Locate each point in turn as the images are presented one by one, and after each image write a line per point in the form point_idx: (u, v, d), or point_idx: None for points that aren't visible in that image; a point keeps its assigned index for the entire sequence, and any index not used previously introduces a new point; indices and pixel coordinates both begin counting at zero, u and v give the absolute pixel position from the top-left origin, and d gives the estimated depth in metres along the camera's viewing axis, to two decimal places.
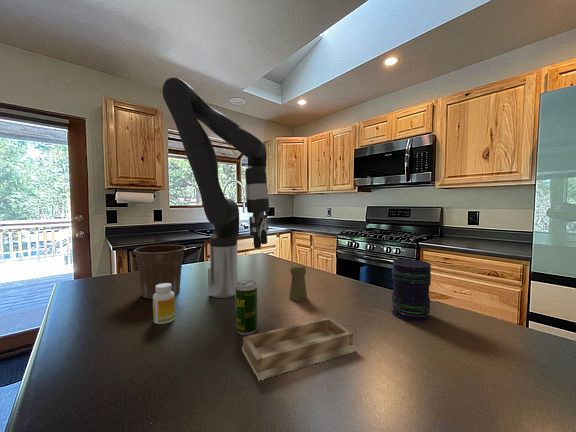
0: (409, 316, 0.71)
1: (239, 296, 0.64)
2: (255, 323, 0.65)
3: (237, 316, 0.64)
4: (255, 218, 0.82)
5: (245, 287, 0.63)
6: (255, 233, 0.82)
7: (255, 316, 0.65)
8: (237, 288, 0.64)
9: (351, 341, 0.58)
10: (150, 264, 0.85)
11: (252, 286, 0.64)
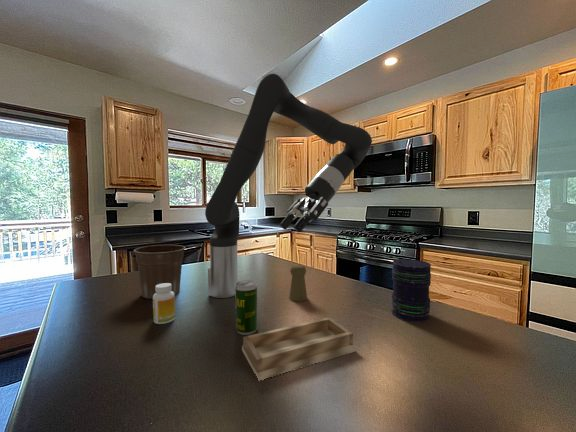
0: (409, 316, 0.71)
1: (239, 296, 0.64)
2: (255, 323, 0.65)
3: (237, 316, 0.64)
4: (326, 204, 0.67)
5: (245, 287, 0.63)
6: (315, 217, 0.65)
7: (255, 316, 0.65)
8: (237, 288, 0.64)
9: (351, 341, 0.58)
10: (150, 264, 0.85)
11: (252, 286, 0.64)
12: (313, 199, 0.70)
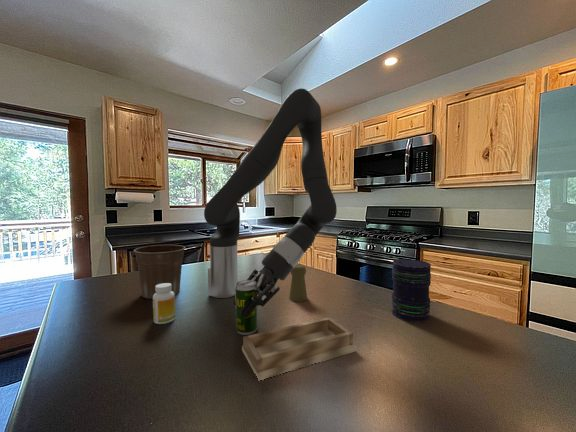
0: (409, 316, 0.71)
1: (239, 296, 0.64)
2: (255, 323, 0.65)
3: (237, 316, 0.64)
4: (277, 290, 0.62)
5: (245, 287, 0.63)
6: (262, 303, 0.62)
7: (255, 316, 0.65)
8: (237, 288, 0.64)
9: (351, 341, 0.58)
10: (150, 264, 0.85)
11: (252, 286, 0.64)
12: (268, 277, 0.65)
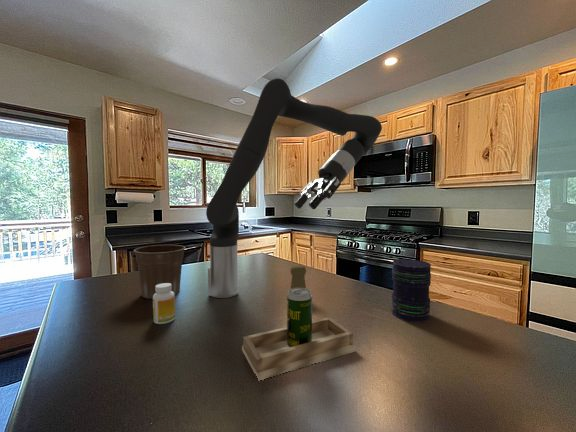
0: (409, 316, 0.71)
1: (293, 307, 0.54)
2: (310, 338, 0.56)
3: (290, 330, 0.55)
4: (339, 183, 0.72)
5: (300, 296, 0.54)
6: (329, 195, 0.71)
7: (310, 330, 0.56)
8: (290, 297, 0.55)
9: (351, 341, 0.58)
10: (150, 264, 0.85)
11: (308, 295, 0.55)
12: (326, 180, 0.75)
